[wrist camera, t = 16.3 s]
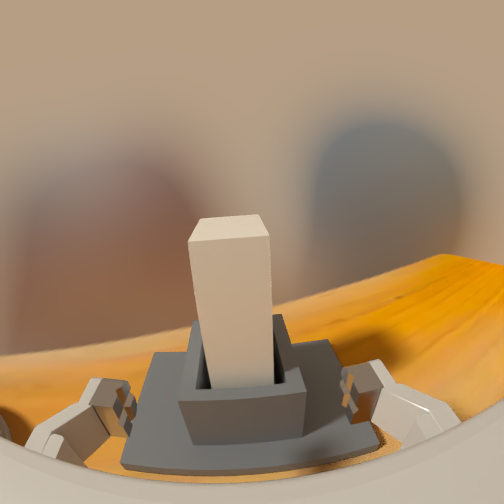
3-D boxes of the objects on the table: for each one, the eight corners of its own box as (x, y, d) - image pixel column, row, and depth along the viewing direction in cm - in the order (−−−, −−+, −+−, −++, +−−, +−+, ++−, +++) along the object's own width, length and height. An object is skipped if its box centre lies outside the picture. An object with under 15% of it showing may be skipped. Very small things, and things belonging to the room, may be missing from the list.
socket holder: (326, 346, 28) (330, 296, 27) (376, 450, 15) (399, 397, 13) (156, 359, 28) (143, 310, 26) (125, 469, 14) (90, 420, 12)
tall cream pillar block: (265, 372, 24) (258, 214, 20) (274, 422, 18) (269, 235, 14) (221, 376, 24) (200, 218, 20) (220, 426, 18) (187, 241, 14)
